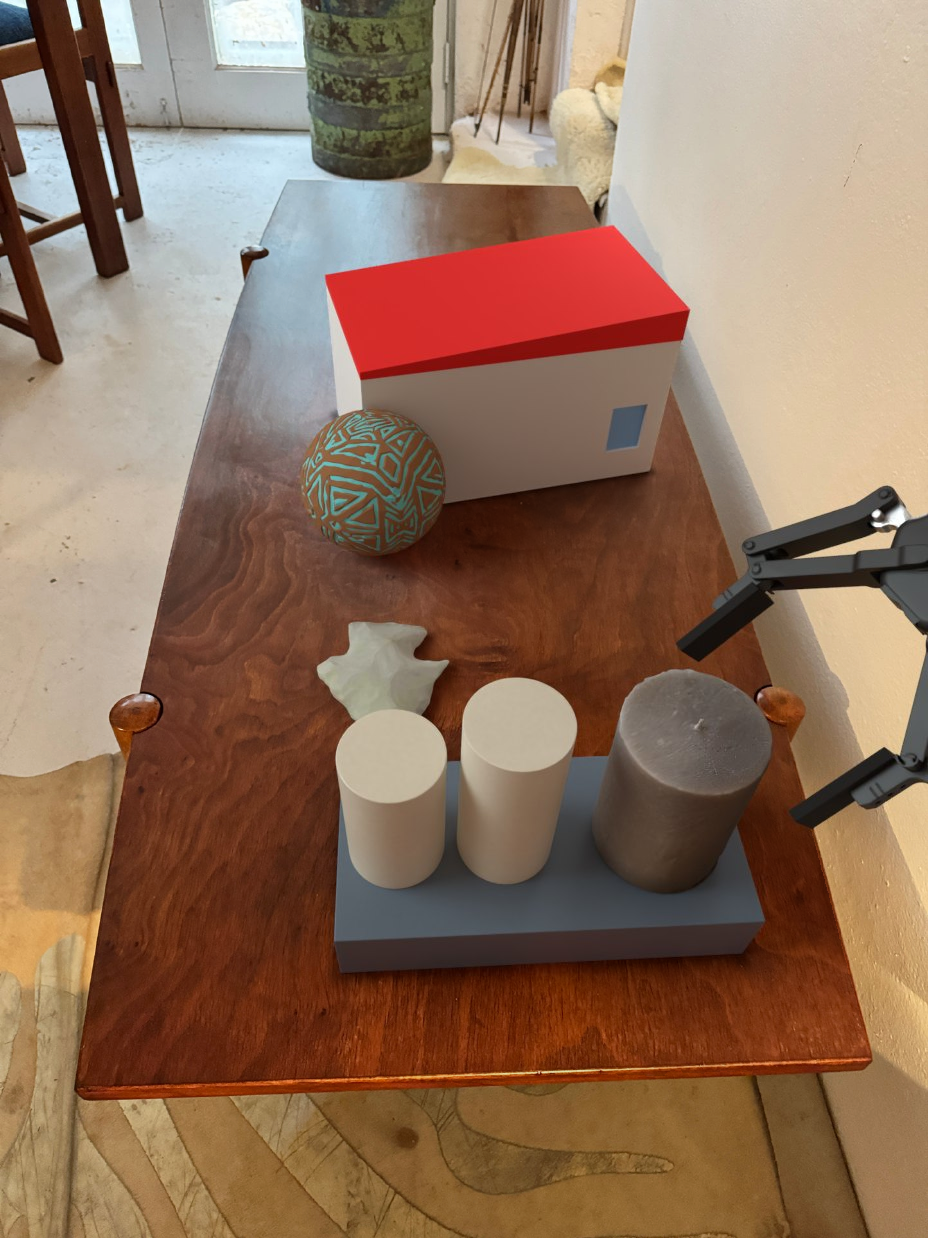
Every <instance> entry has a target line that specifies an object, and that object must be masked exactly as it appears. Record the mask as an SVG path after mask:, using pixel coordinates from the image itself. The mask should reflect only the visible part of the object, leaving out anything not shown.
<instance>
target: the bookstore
mask: <svg viewBox="0 0 928 1238" xmlns="http://www.w3.org/2000/svg"><path fill="white" fill-rule="evenodd" d="M324 280H325V290H326V299H327V302H326V303H327V312H328V323H329V332H330V333H329V334H330V343H331V353H332V365H333V373H334V374H333V375H334V376H333V377H334V387H335V397H336V409H337V415H338V417H339V416H342V415H344V414H346V413H349V412H352V411H356V410H362V409H363V410H370V409H380V410H387V411H391V412H395V413H397V414H400V415H402V416H404V417H406V418H408V419H410V420H411V421H413V422H415V423H416V424H417V425H418V426H419V427H420V428H421V429H422V430H424V431H425V432H426V433H427V434H428V436H429V437H430V438H431V439H432V441H433V443H434V444H435V446H436V447H437V449H438V452H439V454H440V455H441V459H442V462H443V466H444V471H445V479H446V491H445V498H444V501H443V504H442V505H444V504H449V503H456V502H463V501H469V500H475V499H481V498H487V497H493V496H501V495H508V494H513V493H519V492H525V491H526V492H527V491H532V490H538V489H544V488H551V487H559V486H565V485H570V484H577V483H583V482H589V481H596V480H602V479H607V478H614V477H620V476H627V475H632V474H640V473H646V472H650V471H651V467H652V463H653V459H654V455H655V451H656V447H657V443H658V439H659V435H660V430H661V426H662V422H663V418H664V414H665V411H666V407H667V401H668V397H669V393H670V389H671V385H672V381H673V377H674V372H675V369H676V365H677V361H678V356H679V354H680V353H679V351H680V349H681V346H682V341H683V340H684V337H685V333H686V329H687V325H688V321H689V317H690V312H691V309H690V307H689V306H688V305H687V303H685V301H684V300H682V299H681V297H680V296H679V295H678V294H677V293H676V292H675V291H674V290H673V289H672V287H670V285H669V284H668V282H666V281H665V280H664V278H662V276H661V275H660V274H659V273H658V272H657V271H656V270H655V269H654V267H652V266H651V265H650V264H649V261H647V260H646V259H645V258H644V256H643V255H642V254H641V253H640V252H639V251H638V250H637V249H636V248H635V247H634V245H632V244H631V243H630V241H628V239H627V238H626V237H625V236H624V235H623V233H621V231H619V229H618V228H617V227H616V226H615V225H614V224H611V225H606V226H599V227H593V228H588V229H583V230H576V231H572V232H571V231H570V232H565V233H559V234H553V235H548V236H547V235H546V236H542V237H535V238H530V239H524V240H519V241H513V242H512V241H511V242H507V243H501V244H496V245H490V246H489V245H488V246H484V247H478V248H473V249H466V250H461V251H460V250H459V251H454V252H448V253H444V254H437V255H432V256H425V257H419V258H415V259H409V260H403V261H397V262H392V263H391V262H390V263H384V264H379V265H374V266H367V267H362V268H357V269H350V270H345V271H338V272H333V273H327V274H324Z"/></svg>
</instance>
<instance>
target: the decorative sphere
mask: <svg viewBox="0 0 928 1238" xmlns="http://www.w3.org/2000/svg"><path fill="white" fill-rule="evenodd" d="M299 475H300V476H299V485H300V487H299V488H300V495H301V500H302V503H303V506H304V509H305V511H306V513H307V514H308V517H309V518H310V520H311V522H312V524H313V525H314V527H315V528H316V529H317V530H318V531H319V532H320V533H321V534H322V535H323V536H324V537H325V538H326V539H327V540H329V541H330V542H332V543H333V544H334V545H336V546H338V547H339V548H341V549H344V550H345V551H347V552H351V553H354V554H358V555H363V556H385V555H390V554H396V553H398V552H400V551H403V550H405V549H407V548H408V547H410V546H412V545H414V544H416V543H417V542H419V540H421V539H422V538H423V537H424V536H425V535H426V534H427V533H428V532H429V531H430V530H431V528H433V525H434V524H435V523H436V522H437V519H438V517H439V515H440V513H441V511H442V509H443V505H444V504H443V501H444V498H445V491H446V479H445V471H444V466H443V462H442V459H441V455H440V454H439V452H438V449H437V447H436V446H435V444H434V443H433V441H432V439H431V438H430V437H429V436H428V434H427V433H426V432H425V431H424V430H422V429H421V428H420V427H419V426H418V425H417V424H416V423H415V422H413V421H411V420H410V419H408V418H406V417H404V416H402V415H400V414H397V413H395V412H391V411H387V410H380V409H370V410H363V409H362V410H356V411H352V412H349V413H346V414H344V415H342V416H339V415H338V416H336V418H334V419H333V420H331V421H330V422H328V423H327V424H326V425H325V426H324V427H322V428H321V430H320V431H318V432H317V433H316V434H315V436H314V437H313V439H312V440H311V442H310V444H309V445H308V447H307V448H306V451H305V454H304V456H303V459H302V463H301V468H300V474H299Z"/></svg>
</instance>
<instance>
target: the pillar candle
mask: <svg viewBox="0 0 928 1238" xmlns="http://www.w3.org/2000/svg"><path fill="white" fill-rule="evenodd" d="M773 748H774V738H773V734H772V729H771V726H770V724H769V722H768V719H767V717H766V716H765V713H764V712H763V710H762V709H761V708H760V707H759V705H757V703H756V702H755V701H754V699H752V698H751V696H749V694H747V693H746V692H744V691H743V690H741V689H740V688H738V687H737V686H735V685H734V684H733V683H730V682H729V681H725V680H724V679H722V678H720V677H717V676H715V675H713V674H708V673H705V672H700V671H696V670H695V669H691V668H686V669H677V668H676V669H668V670H667V671H662V672H661V673H658V674H656V675H653V676H647V677H644V680H643V681H641V682H639V683H637V684H636V685H634V687H633V689H632V690H631V691H630V692H629V694H628V695H627V696H626V697H625V698H624V701H623V704H622V707H621V710H620V713H619V718H618V721H617V725H616V729H615V734H614V737H613V740H612V744H611V748H610V751H609V754H608V756H609V757H608V761H607V765H606V768H605V771H604V775H603V779H602V781H601V786H600V790H599V793H598V797H597V801H596V805H595V808H594V812H593V820H592V834H593V837H594V843H595V846H596V848H597V850H598V852H599V854H600V856H601V857H602V859H603V860H604V862H605V863H606V864H607V865H608V866H609V867H610V869H611V870H612V871H613V872H614V873H615V874H617V875H618V876H619V877H620V878H622V879H624V880H625V881H626V882H628V883H630V884H632V885H634V886H637V887H639V888H641V889H643V890H646V891H650V892H653V893H659V894H675V893H680V892H685V891H686V890H687V889H688V890H690V889H693V888H695V887H696V886H698V885H699V884H701V883H703V882H704V881H705V880H706V879H707V878H708V877H709V876H710V875H711V874H712V872H713V871H714V869H715V867H716V866H717V864H718V859H719V856H720V855H722V853H723V851H724V849H725V848H726V845H727V843H728V841H729V838H730V837H731V835H732V833H733V831H734V829H735V827H736V826H737V825H738V824H739V823H740V820H741V819H742V817H743V815H744V813H745V811H746V809H747V807H748V805H749V803H750V802H751V800H752V798H753V796H754V794H755V792H756V791H757V789H758V788H759V785H760V783H761V781H762V779H763V777H764V775H765V774H766V772H767V770H768V768H769V765H770V763H771V759H772V754H773Z"/></svg>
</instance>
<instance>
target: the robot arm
mask: <svg viewBox="0 0 928 1238" xmlns="http://www.w3.org/2000/svg"><path fill="white" fill-rule="evenodd" d="M892 531H895V533H894V535H893V538H892V542H891V544H890V547H889V548H875V549H873V548H872V549H862V550H861V549H860V550H858V551H856V553H853V554H852V553H851V554H840V555H828V556H827V555H825V556H814V557H813V556H811V557H805V556H807V555H810V554H814V553H817V552H820V551H823V550H828V549H830V548H833V547H837V546H841V545H844V544H847V543H851V542H854V541H857V540H860V539H864V538H866V537H869V536H872V535H874V534H876V533H881V534H888V533H891V532H892ZM741 551H742V553H743V554H744V555H745V558H746V562H747V569H746V572H745V573H744V575H742V576H741V577H740V578H739V579H738V580H737V581H735V582H734V583H733V584H732V585H730V586H729V587H727V589H725V590H724V591H723V592H722V593H720V594H719V595H717V597H715V598H714V600H713V601H712V603H711V607H712V608H713V609H714V612H712V613H711V614H709V615H708V616H707V617H706V618H705V619H703V620H702V621H701V622H700V623H698V624H697V625H696V626H695V627H694V628H692V629H691V630H690V631H688V632H687V633H686V634H684V635H683V636H682V637H681V638H680V639H679V640H677V641H676V642H675V645H676V646H677V647H678V649H679V651H680V652H681V653H683V654H685V655H686V656H688V657H689V658H691V659H693V660H694V661H696V662H697V663H700V662H701V661H702V660H704V659H706V658H707V657H708V656H709V655H710V654H712V653H713V652H714V651H715V650H717V649H718V648H719V647H721V646H722V645H723V644H724V643H726V642H727V641H729V639H731V638H732V637H733V636H735V635H736V634H737V633H739V631H741V630H742V629H744V628H745V627H746V626H747V625H749V624H750V623H751V622H753V621H754V620H755V619H756V618H758V617H759V616H760V615H761V614H762V613H764V612H765V611H767V609H769V608H771V607H772V606H773V605H774V604H775V601H774V600H773V599H772V598H771V597H770V596H769V594H770V595H773V596H774V595H775V592H777V591H797V590H799V591H800V590H816V589H817V590H818V589H819V590H820V589H835V588H836V589H838V588H856V587H857V588H859V587H868V588H871V589H880V591H881V592H882V593H883V594H884V595H885V596H886V598H888V600H889V601H890V602H891V603H892V604H893V605H894V606H895V607H896V608H897V609H898V610H900V611H902V613H903V614H904V617H906V619H907V620H908V621H909V622H910V623H911V624H912V625H913V626H914V628H915V629H916V630H917V631H918V633H920V634H921V635H922V636H926V639H925V655H924V660H923V662H922V666H921V670H920V674H919V677H918V682H917V685H916V690H915V694H914V698H913V701H912V706H911V710H910V714H909V717H908V721H907V725H906V729H905V733H904V737H903V741H902V746H901V749H900V752H899V754H898V753H894V752H892V751H891V750H890V749H888V748H887V747H885V746H883V747H882V748H880V749H878V750H877V751H875V752H873V753H872V754H871V755H870V756H868V757H866V758H865V759H864V760H862V761H860V762H858V764H856V765H855V766H853V767H852V768H850V769H848V770H847V771H846V772H844V773H843V774H842V775H840V776H838V777H837V778H835V779H834V780H832V781H831V782H829V783H828V784H826V785H824V786H823V787H821V788H820V789H819V790H818V791H816V792H815V793H813V794H811V795H809V796H808V797H807V798H805V799H804V800H802V801H801V802H799V803H798V804H796V805H795V806H793V807H791V808H790V809H789V810H787V812H788V813H789V815H790V817H791V818H792V820H793V821H794V823H796V824H798V825H801V826H804V827H805V828H809V829H811V830H813V829H815V828H816V827H818V826H819V825H821V824H823V823H824V822H825V821H827V820H828V819H830V818H831V817H833V816H835V815H836V814H838V813H839V812H840V811H843V810H844V809H845V808H847V807H848V806H850V805H852V804H854V803H856V804H857V805H858V806H859V807H861V808H863V809H865V810H867V811H869V810H873V809H877V808H879V807H881V806H882V805H884V804H886V803H887V802H889V801H890V800H891V799H893V798H894V797H896V796H897V795H899V794H901V793H902V792H904V791H905V790H908V789H909V788H910V787H913V785H916V784H927V785H928V512H926V513H925V514H922V515H919V516H915V517H913V516H912V514H911V513H910V512H909V511H908V509H907V505H906V504H905V503H904V501H903V500H902V498H901V497H900V495H899V494H898V493H897V491H896V490H895V488H894V487H893V486H891V485H882V486H880V487H878V488H876V489H875V490H874V491H871V492H870V493H869V494H868V495H866V496H865V497H863V498H861V499H860V500H859V501H857V502H856V503H853V504H850V505H847V506H845V507H841V508H839V509H835V510H832V511H829V512H825V513H823V514H819V515H816V516H813V517H810V518H807V519H804V520H800V521H798V522H797V521H796V522H794V523H791V524H789V525H785V526H782V527H778V528H776V529H773V530H769V531H767V532H762V533H760V534H757V535H754V536H750V537H748V538H747V539H745V540H744V541H743V542H742V544H741ZM803 556H804V557H803ZM766 592H767V593H766Z"/></svg>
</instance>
